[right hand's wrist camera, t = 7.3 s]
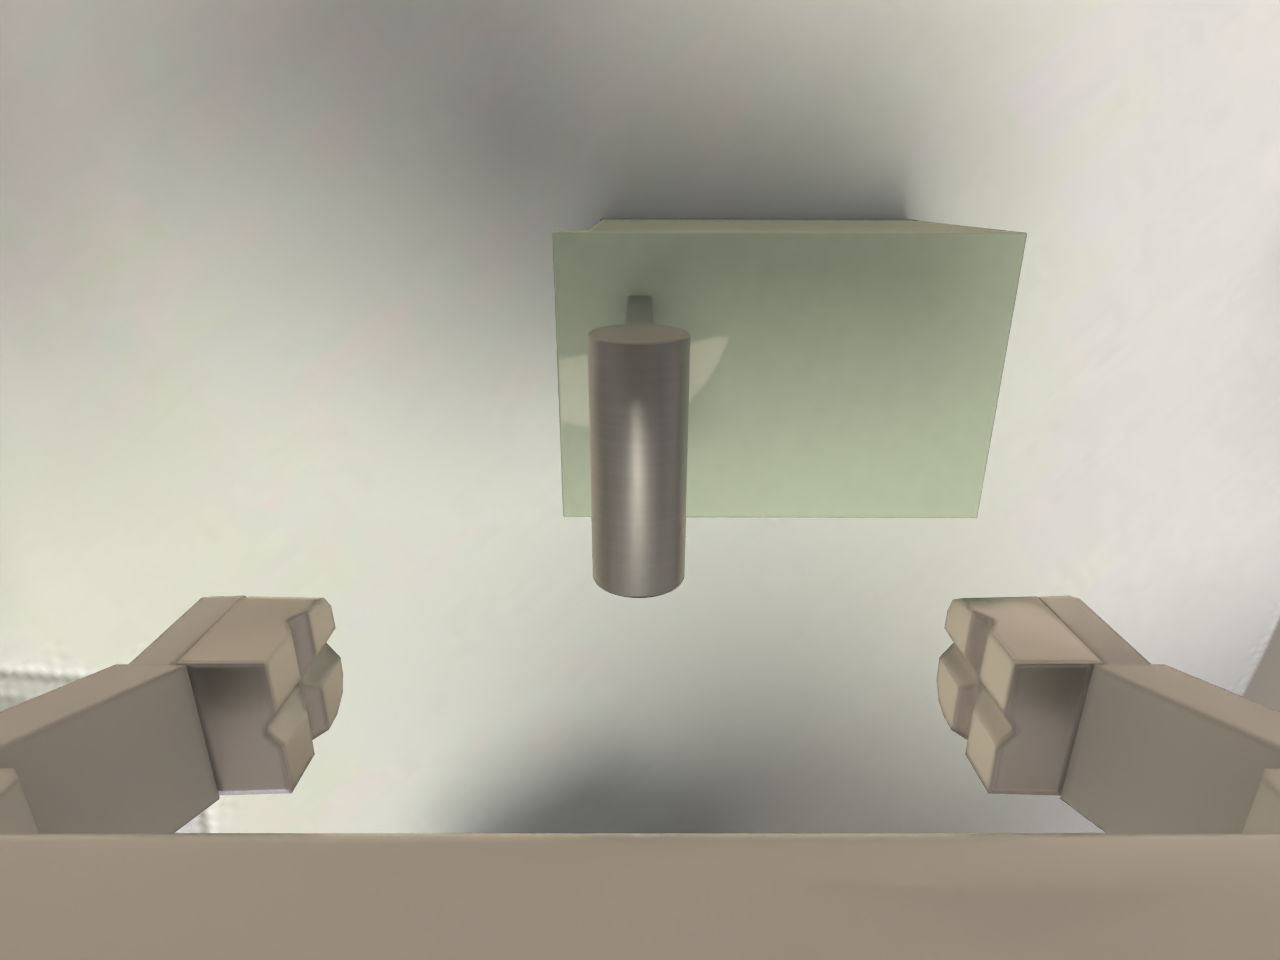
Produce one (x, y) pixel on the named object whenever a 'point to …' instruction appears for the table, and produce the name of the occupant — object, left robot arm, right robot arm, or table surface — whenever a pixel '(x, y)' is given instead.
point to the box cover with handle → (772, 380)
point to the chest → (780, 225)
